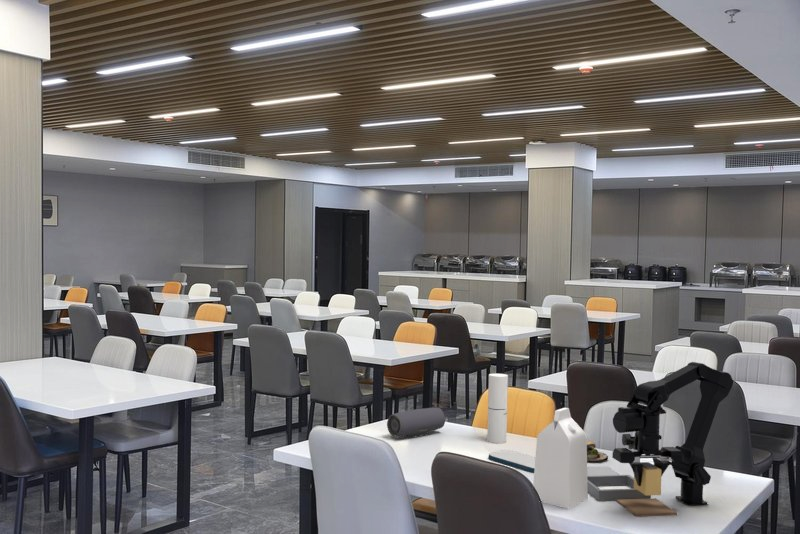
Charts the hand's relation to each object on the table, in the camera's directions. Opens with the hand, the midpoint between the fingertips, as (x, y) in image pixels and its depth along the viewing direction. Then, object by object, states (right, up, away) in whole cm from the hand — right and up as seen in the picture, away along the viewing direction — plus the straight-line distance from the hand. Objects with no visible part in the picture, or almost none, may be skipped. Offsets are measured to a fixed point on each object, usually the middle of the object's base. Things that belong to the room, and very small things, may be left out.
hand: (647, 485), depth 207 cm
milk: (-23, -6, +7) cm, 25 cm away
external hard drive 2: (+17, -7, +48) cm, 51 cm away
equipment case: (-6, -6, +21) cm, 22 cm away
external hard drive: (-28, -6, +42) cm, 51 cm away
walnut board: (0, -6, 0) cm, 6 cm away
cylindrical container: (-33, -5, +72) cm, 79 cm away
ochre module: (0, -2, 0) cm, 2 cm away
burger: (-3, -6, +50) cm, 51 cm away
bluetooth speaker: (-63, -4, +78) cm, 101 cm away
